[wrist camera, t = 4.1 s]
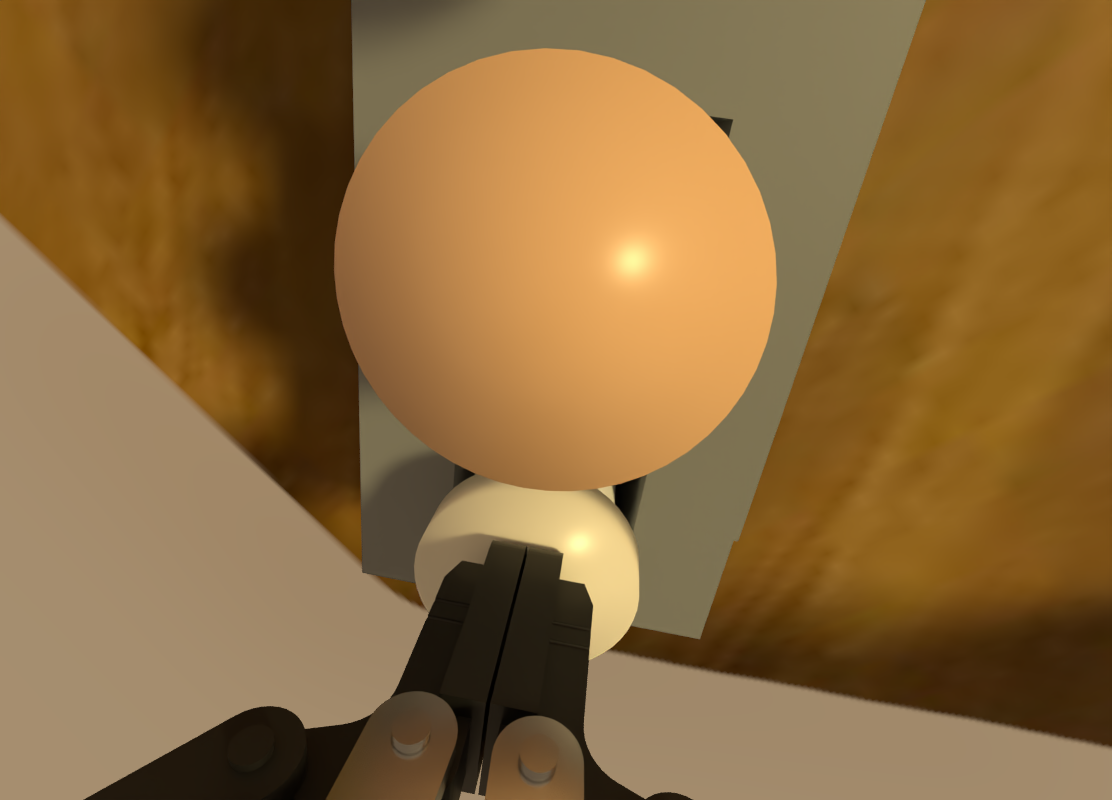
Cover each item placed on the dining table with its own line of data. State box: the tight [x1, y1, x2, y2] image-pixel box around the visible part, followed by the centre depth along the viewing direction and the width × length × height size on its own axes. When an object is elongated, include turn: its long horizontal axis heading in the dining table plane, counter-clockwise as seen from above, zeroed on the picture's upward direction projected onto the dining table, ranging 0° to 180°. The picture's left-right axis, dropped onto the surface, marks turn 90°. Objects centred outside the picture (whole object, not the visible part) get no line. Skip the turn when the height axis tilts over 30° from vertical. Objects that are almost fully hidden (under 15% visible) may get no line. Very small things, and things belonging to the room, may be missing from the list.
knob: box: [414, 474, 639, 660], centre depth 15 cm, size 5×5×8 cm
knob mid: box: [334, 48, 777, 491], centre depth 10 cm, size 5×5×8 cm
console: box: [351, 0, 926, 639], centre depth 14 cm, size 14×22×7 cm, turn 172°
